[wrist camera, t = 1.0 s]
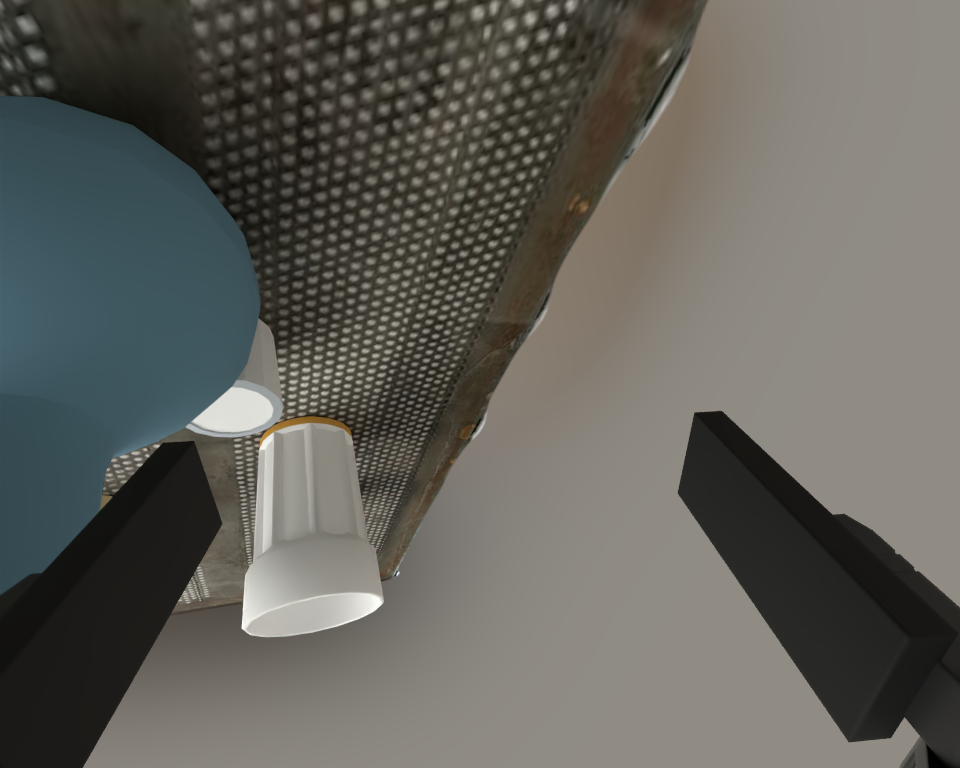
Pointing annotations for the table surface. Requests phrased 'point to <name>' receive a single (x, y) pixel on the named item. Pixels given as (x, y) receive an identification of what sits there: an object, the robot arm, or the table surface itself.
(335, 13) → the table surface
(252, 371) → the shot glass
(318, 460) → the cup
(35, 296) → the vase
